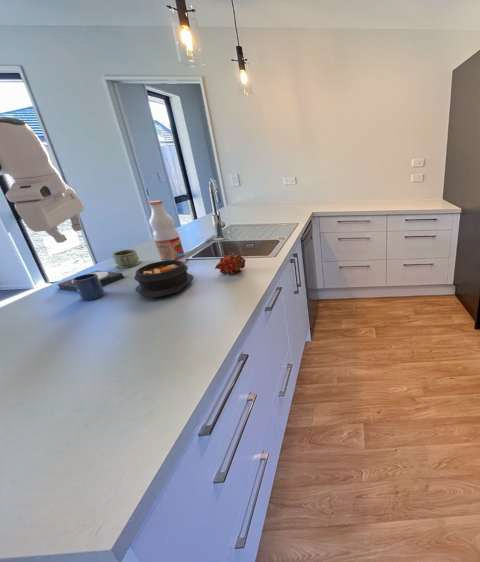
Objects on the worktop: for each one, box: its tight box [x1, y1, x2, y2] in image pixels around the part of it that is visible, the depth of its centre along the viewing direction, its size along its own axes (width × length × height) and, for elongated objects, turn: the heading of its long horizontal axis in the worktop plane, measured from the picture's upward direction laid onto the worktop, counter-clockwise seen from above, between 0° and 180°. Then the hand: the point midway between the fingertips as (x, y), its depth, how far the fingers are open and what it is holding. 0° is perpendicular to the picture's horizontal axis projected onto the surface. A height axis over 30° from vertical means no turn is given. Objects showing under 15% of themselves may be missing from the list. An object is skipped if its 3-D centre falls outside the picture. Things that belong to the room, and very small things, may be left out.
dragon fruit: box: [214, 253, 246, 275], centre depth 125 cm, size 8×8×12 cm
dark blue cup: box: [71, 273, 106, 301], centre depth 106 cm, size 6×6×8 cm
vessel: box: [111, 248, 140, 269], centre depth 136 cm, size 12×9×6 cm
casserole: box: [133, 260, 194, 299], centre depth 112 cm, size 25×19×8 cm
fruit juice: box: [148, 200, 187, 264], centre depth 132 cm, size 9×9×28 cm
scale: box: [57, 269, 124, 292], centre depth 118 cm, size 14×14×3 cm
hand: (71, 235), depth 86 cm, fingers open, 8 cm apart
